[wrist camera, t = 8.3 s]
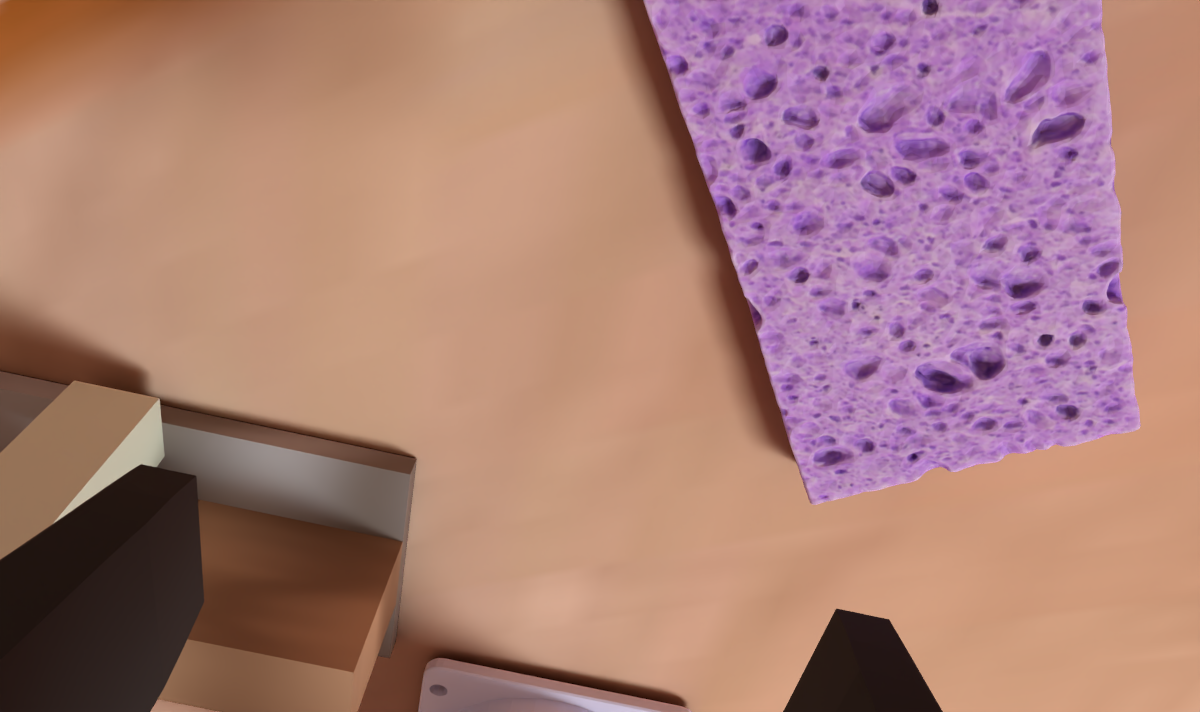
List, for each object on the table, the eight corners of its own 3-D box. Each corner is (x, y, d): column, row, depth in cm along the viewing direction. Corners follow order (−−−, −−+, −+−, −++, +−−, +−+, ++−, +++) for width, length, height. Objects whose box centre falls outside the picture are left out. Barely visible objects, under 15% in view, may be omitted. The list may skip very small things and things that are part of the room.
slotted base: (416, 458, 22) (359, 602, 18) (395, 640, 26) (344, 791, 22) (-156, 338, 22) (-339, 460, 18) (-92, 542, 26) (-232, 679, 22)
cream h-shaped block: (179, 621, 25) (26, 875, 20) (108, 607, 25) (-66, 857, 20) (159, 398, 21) (-46, 637, 15) (74, 380, 21) (-165, 614, 15)
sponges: (799, 455, 22) (807, 507, 20) (621, -82, 16) (613, -66, 14) (1112, 384, 20) (1147, 436, 18) (1045, -255, 14) (1089, -258, 12)
